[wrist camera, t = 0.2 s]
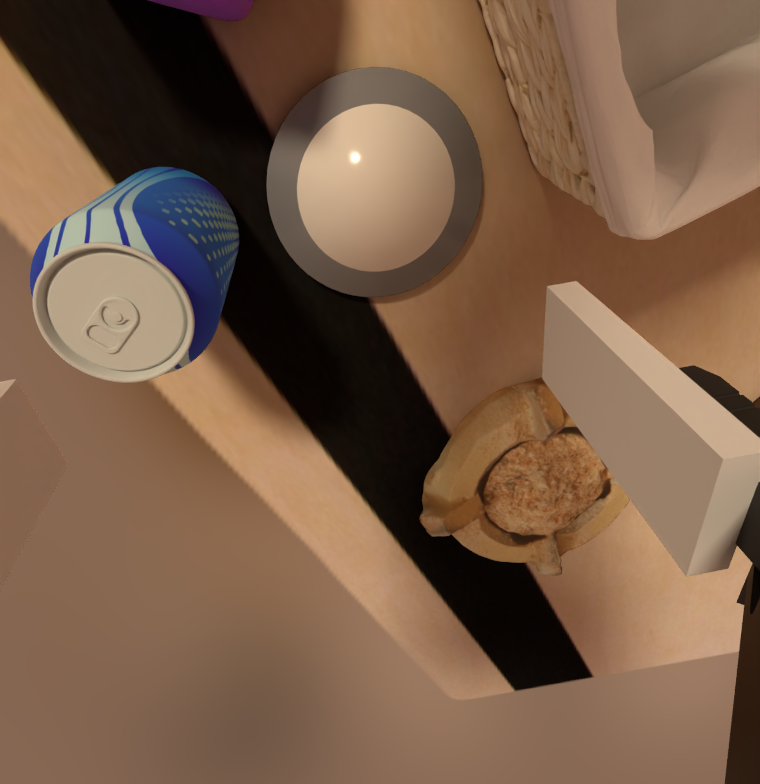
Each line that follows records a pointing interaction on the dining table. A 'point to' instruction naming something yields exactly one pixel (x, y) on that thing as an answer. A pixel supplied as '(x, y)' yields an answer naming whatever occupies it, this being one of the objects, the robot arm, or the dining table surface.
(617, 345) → the robot arm
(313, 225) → the coaster plate
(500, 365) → the dining table surface
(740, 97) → the storage basket
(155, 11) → the dining table surface
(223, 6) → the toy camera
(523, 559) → the ashtray
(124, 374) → the beer can
